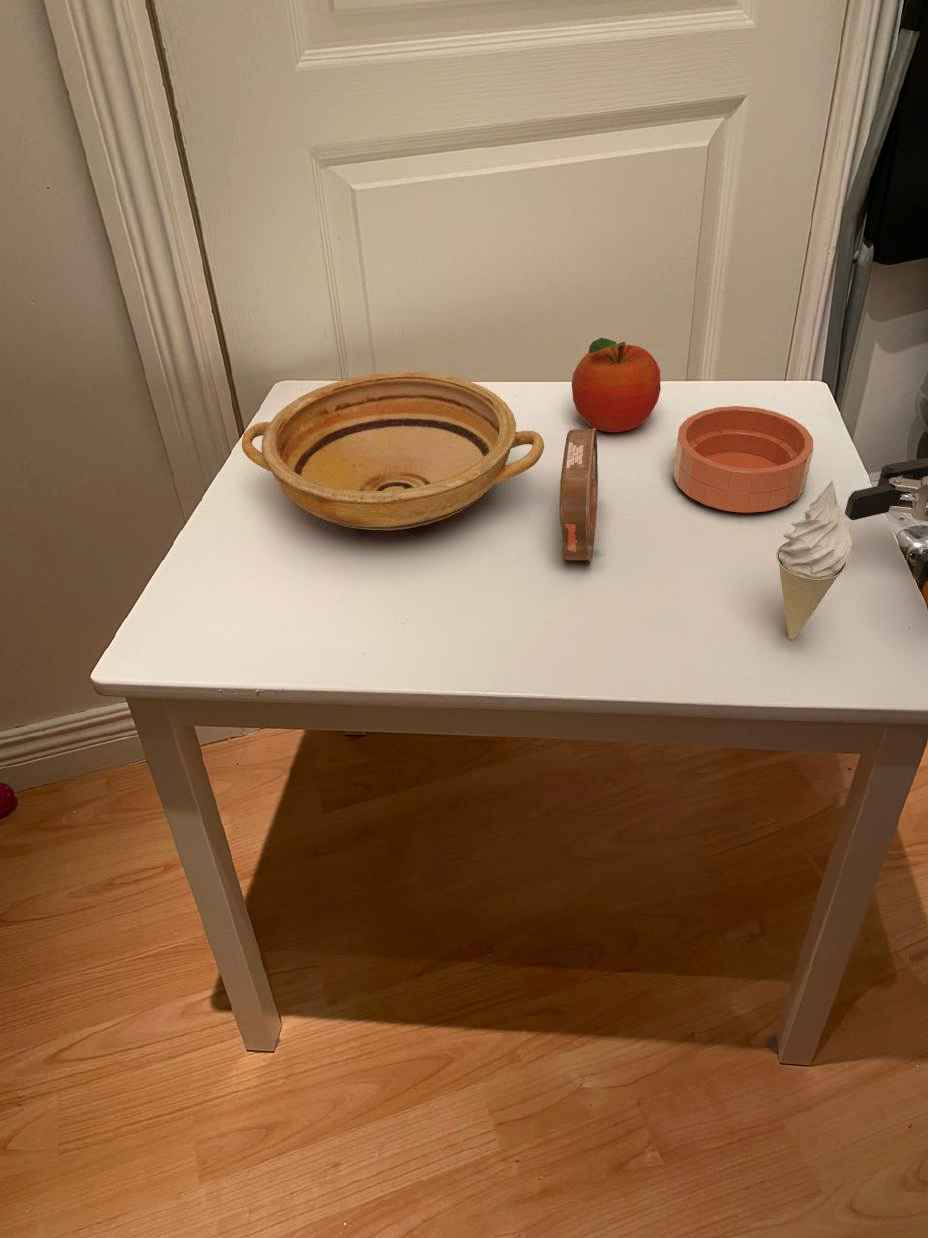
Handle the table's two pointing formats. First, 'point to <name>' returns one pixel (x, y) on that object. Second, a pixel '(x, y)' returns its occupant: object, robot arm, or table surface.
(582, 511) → the tin
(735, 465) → the pot
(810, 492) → the table surface
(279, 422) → the ceramic bowl
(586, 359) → the fruit
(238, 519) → the table surface
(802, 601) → the ice cream cone
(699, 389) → the table surface
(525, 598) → the table surface
